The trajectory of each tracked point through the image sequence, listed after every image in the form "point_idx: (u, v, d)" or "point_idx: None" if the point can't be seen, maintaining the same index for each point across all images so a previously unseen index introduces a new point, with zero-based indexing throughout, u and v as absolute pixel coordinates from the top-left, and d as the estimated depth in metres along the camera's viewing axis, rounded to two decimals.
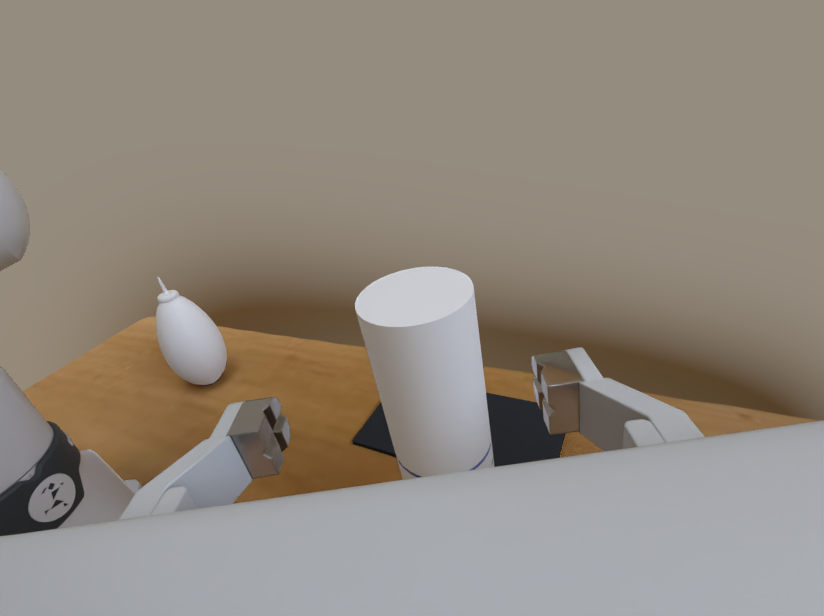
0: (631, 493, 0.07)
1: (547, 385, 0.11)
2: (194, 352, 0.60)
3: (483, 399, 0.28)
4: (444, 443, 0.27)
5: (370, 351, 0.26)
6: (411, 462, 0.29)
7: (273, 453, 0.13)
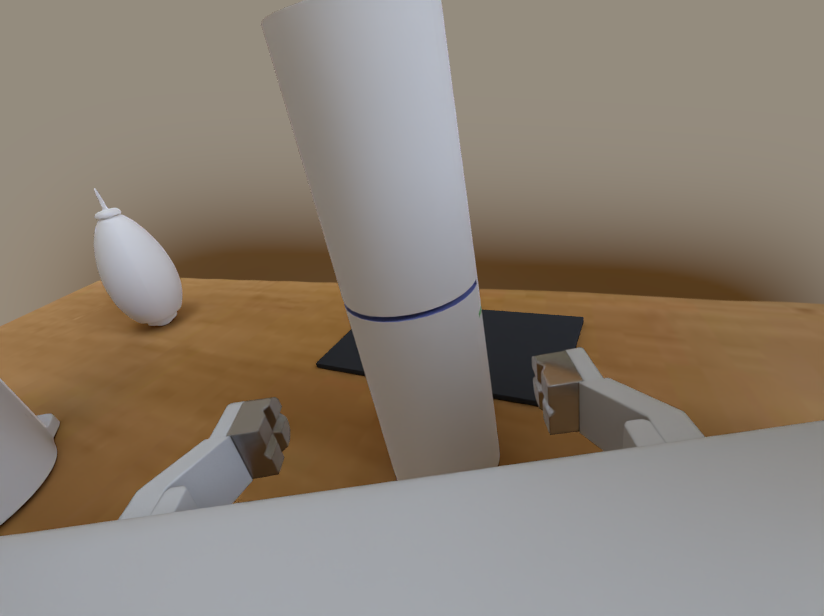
0: (631, 493, 0.07)
1: (547, 385, 0.11)
2: (139, 280, 0.51)
3: (462, 193, 0.19)
4: (403, 246, 0.18)
5: (285, 89, 0.17)
6: (360, 294, 0.20)
7: (273, 453, 0.13)
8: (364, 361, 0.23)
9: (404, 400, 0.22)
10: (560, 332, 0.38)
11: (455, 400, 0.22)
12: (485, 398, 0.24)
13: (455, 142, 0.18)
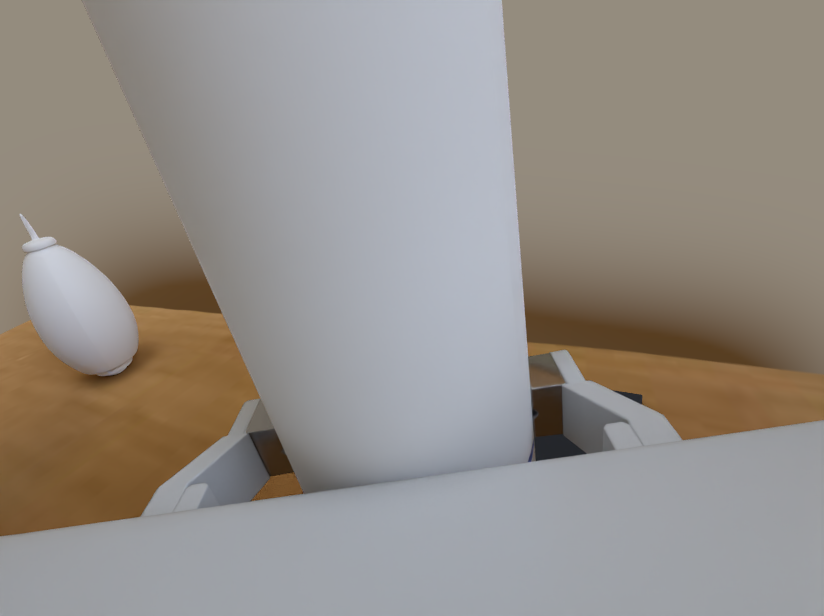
0: (631, 493, 0.07)
1: None
2: (78, 325, 0.41)
3: (520, 305, 0.10)
4: (401, 433, 0.09)
5: (127, 101, 0.07)
6: None
7: None
8: None
9: None
10: None
11: None
12: None
13: (512, 211, 0.09)
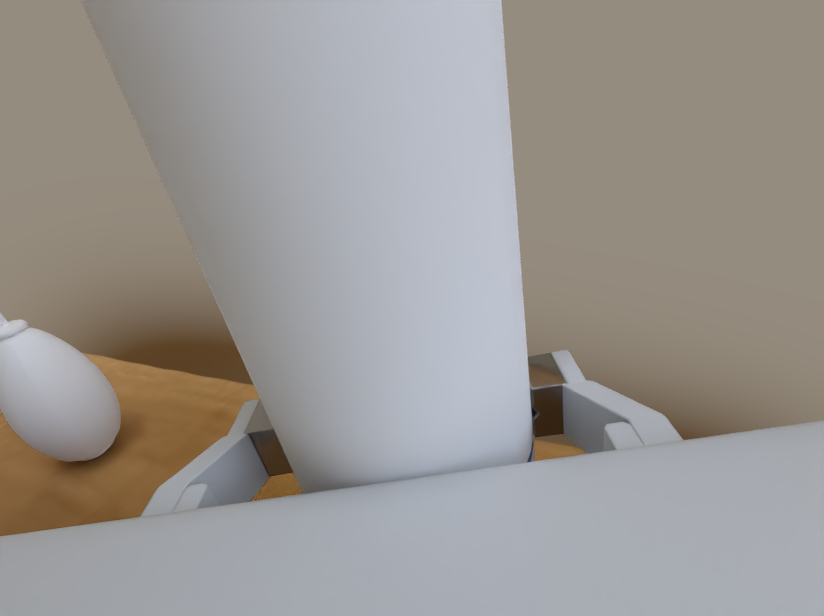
0: (631, 493, 0.07)
1: (530, 388, 0.12)
2: (52, 417, 0.38)
3: (519, 306, 0.10)
4: (400, 433, 0.09)
5: (126, 101, 0.07)
6: None
7: None
8: None
9: None
10: None
11: None
12: None
13: (512, 211, 0.09)
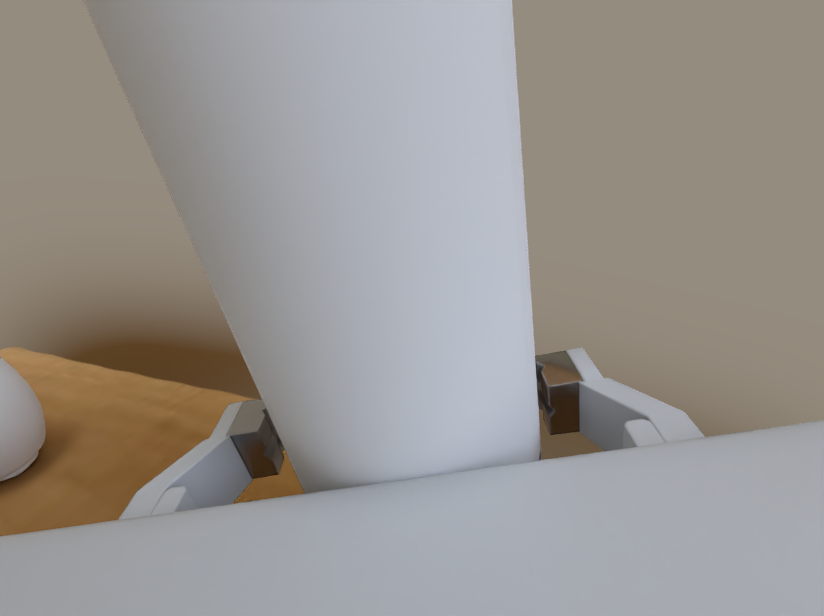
0: (631, 493, 0.07)
1: (547, 385, 0.11)
2: None
3: (528, 318, 0.10)
4: (409, 447, 0.08)
5: (135, 115, 0.07)
6: None
7: (273, 453, 0.13)
8: None
9: None
10: None
11: None
12: None
13: (522, 223, 0.09)
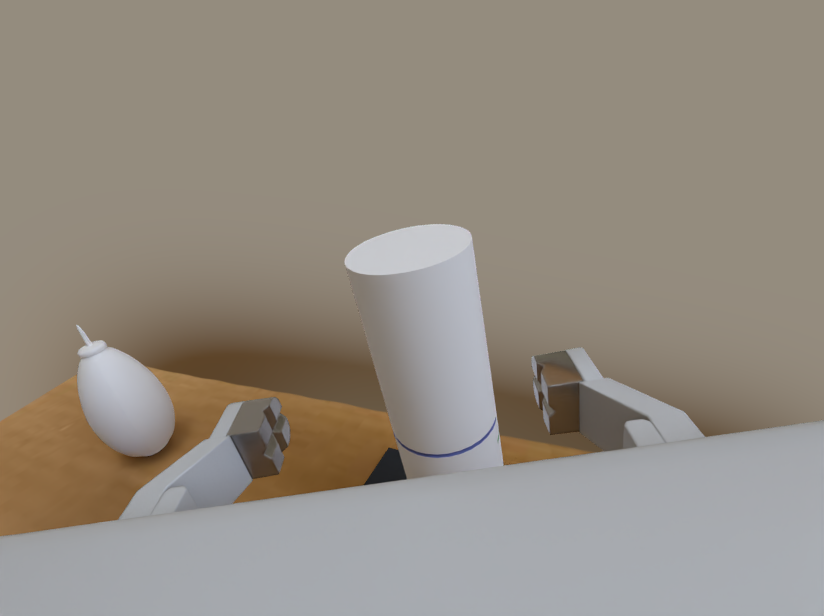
0: (631, 493, 0.07)
1: (547, 385, 0.11)
2: (126, 420, 0.47)
3: (486, 365, 0.26)
4: (444, 412, 0.25)
5: (361, 309, 0.24)
6: (409, 437, 0.27)
7: (273, 453, 0.13)
8: (408, 474, 0.30)
9: None
10: None
11: None
12: None
13: (482, 334, 0.25)
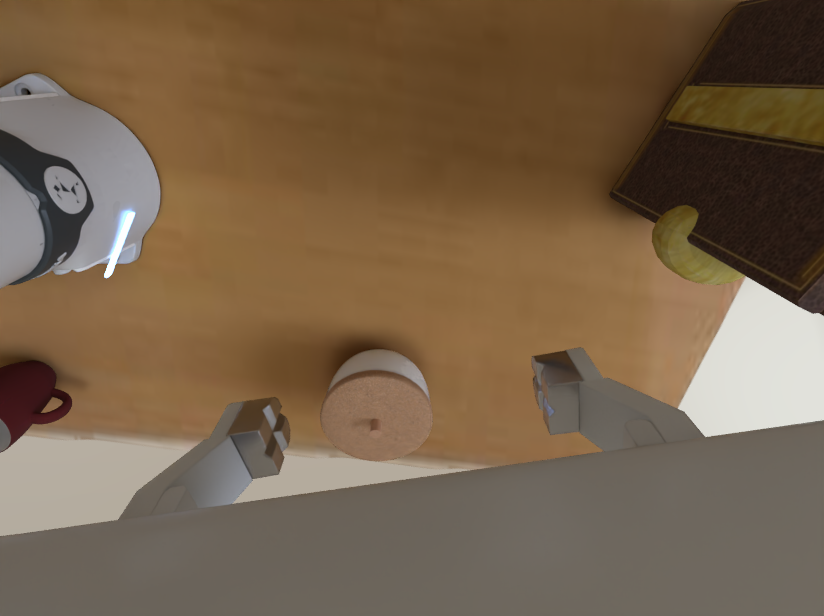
0: (631, 493, 0.07)
1: (546, 385, 0.11)
2: None
3: None
4: None
5: None
6: None
7: (273, 453, 0.13)
8: None
9: None
10: None
11: None
12: None
13: None
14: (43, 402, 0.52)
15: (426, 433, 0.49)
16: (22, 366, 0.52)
